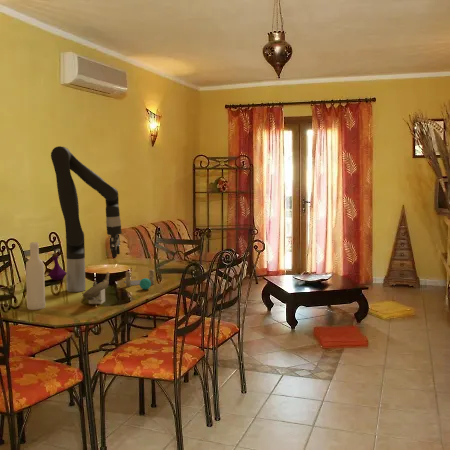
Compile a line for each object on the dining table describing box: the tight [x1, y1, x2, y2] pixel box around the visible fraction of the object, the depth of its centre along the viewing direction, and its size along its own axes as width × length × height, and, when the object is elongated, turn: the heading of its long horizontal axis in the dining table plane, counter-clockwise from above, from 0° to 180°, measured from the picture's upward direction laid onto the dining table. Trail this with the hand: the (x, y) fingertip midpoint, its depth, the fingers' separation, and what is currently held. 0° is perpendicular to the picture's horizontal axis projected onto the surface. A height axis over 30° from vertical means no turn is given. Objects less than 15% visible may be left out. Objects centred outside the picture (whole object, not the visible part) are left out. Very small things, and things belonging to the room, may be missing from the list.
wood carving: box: [82, 271, 110, 305], centre depth 251 cm, size 9×35×11 cm, turn 175°
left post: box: [125, 271, 132, 288], centre depth 285 cm, size 3×3×8 cm
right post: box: [148, 269, 155, 286], centre depth 290 cm, size 3×3×8 cm
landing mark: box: [123, 279, 142, 287], centre depth 295 cm, size 12×12×1 cm
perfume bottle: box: [47, 248, 67, 281], centre depth 303 cm, size 8×8×18 cm
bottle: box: [25, 242, 46, 311], centre depth 238 cm, size 8×8×30 cm
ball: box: [139, 277, 152, 290], centre depth 278 cm, size 6×6×6 cm
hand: (116, 255), depth 276 cm, fingers open, 8 cm apart
